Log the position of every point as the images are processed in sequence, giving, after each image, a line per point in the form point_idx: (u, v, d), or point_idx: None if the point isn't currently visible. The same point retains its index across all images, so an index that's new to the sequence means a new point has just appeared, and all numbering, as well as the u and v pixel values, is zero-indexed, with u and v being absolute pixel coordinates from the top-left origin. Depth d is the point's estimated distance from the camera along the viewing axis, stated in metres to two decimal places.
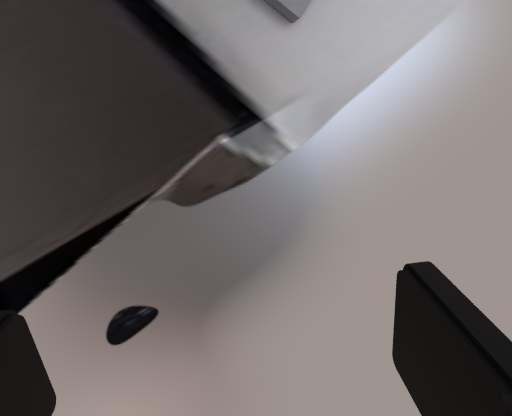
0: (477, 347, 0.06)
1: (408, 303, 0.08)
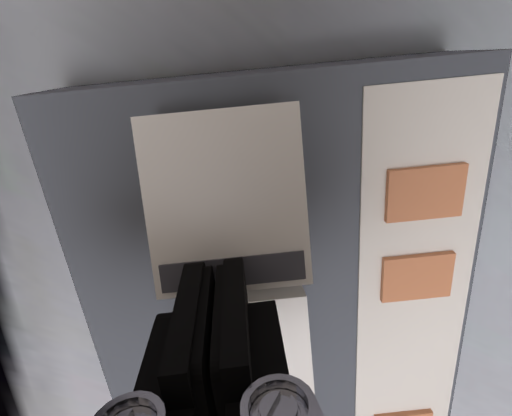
0: (219, 329, 0.07)
1: None
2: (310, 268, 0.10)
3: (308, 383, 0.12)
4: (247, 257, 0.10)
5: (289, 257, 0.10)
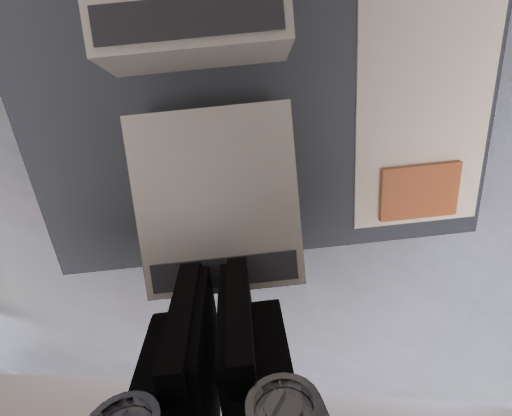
0: (224, 327, 0.07)
1: None
2: None
3: None
4: None
5: None
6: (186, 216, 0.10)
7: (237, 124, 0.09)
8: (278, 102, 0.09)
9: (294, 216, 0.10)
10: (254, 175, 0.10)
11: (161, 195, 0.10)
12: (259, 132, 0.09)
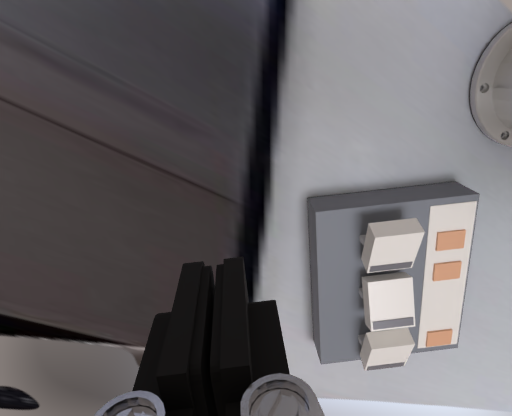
0: (219, 328, 0.07)
1: None
2: (412, 265, 0.35)
3: (412, 307, 0.36)
4: (395, 263, 0.34)
5: (407, 263, 0.34)
6: (380, 360, 0.38)
7: (400, 348, 0.37)
8: (411, 344, 0.36)
9: (406, 358, 0.38)
10: (400, 354, 0.38)
11: (375, 358, 0.38)
12: (404, 348, 0.37)
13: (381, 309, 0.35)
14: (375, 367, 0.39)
